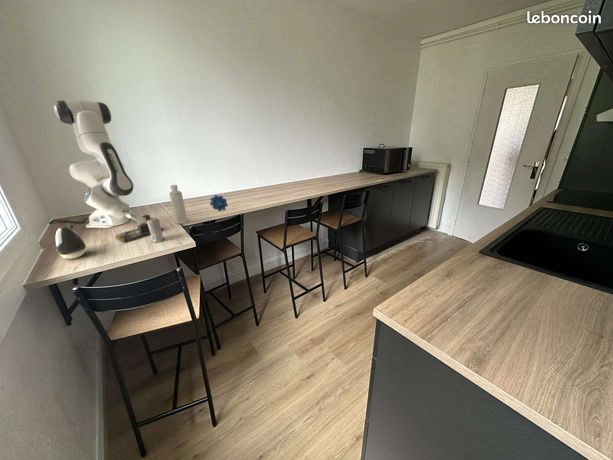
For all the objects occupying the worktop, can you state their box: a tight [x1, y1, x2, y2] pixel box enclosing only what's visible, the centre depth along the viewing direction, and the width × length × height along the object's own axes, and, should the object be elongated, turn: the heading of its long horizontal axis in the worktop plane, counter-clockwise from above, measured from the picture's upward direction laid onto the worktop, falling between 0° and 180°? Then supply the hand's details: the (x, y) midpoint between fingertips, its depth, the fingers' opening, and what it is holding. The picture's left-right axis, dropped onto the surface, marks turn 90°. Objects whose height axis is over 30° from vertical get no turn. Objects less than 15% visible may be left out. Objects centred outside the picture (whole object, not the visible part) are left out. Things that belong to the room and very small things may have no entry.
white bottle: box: [169, 184, 189, 224], centre depth 155 cm, size 7×7×25 cm
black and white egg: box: [54, 224, 87, 260], centre depth 117 cm, size 10×10×15 cm
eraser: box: [136, 214, 151, 232], centre depth 144 cm, size 8×4×8 cm, turn 143°
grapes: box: [209, 194, 228, 212], centre depth 174 cm, size 12×7×12 cm, turn 122°
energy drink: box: [147, 217, 165, 243], centre depth 132 cm, size 5×5×12 cm
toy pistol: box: [115, 227, 164, 243], centre depth 143 cm, size 20×12×2 cm, turn 143°
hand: (145, 221), depth 144 cm, fingers open, 8 cm apart
